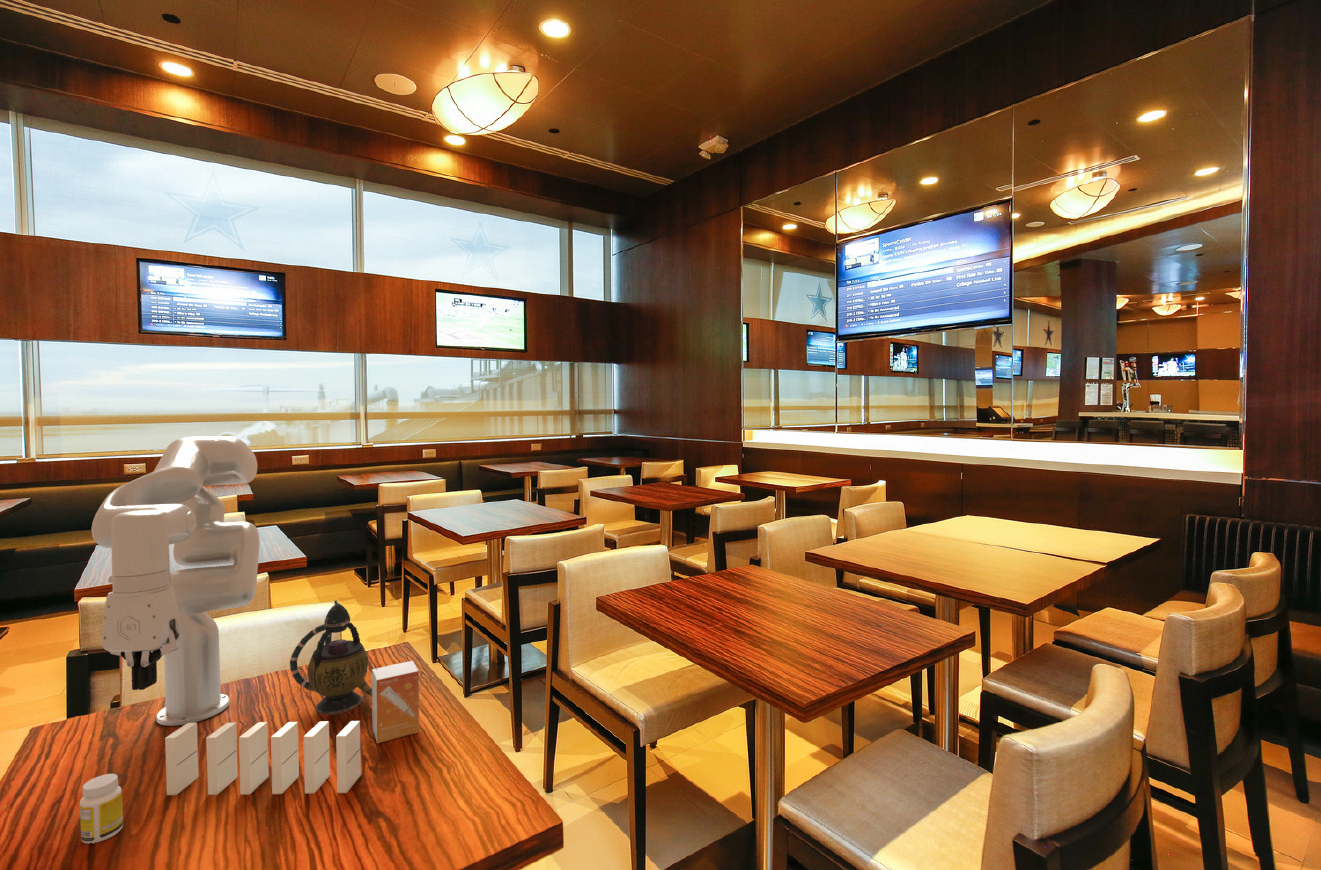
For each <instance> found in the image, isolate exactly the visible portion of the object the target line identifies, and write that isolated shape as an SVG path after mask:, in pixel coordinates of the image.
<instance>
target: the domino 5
mask: <svg viewBox="0 0 1321 870" xmlns="http://www.w3.org/2000/svg"><path fill="white" fill-rule="evenodd" d="M329 721H330V720H329ZM329 721H326V720H325V721H318V722H317V723H316V725H314V727H312V728H311V729H310V730H309V731H308V732H307V733H305V735H304V736H303V760H304V763H303V764H304V765H303V766H304V768H303V769H304V794H316V792H317V791H318V790H319V789H320V787H322V786H323V784H324V783H325V782H326V781H327V780H328V779H329V778H330V776H331V763H330V761H331V758H330V757H331V756H330V751H331V750H330V722H329ZM326 779H327V780H326Z"/></svg>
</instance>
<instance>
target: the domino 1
mask: <svg viewBox="0 0 1321 870" xmlns="http://www.w3.org/2000/svg"><path fill="white" fill-rule="evenodd" d="M164 741H165V743H164V744H165V745H164V746H165V749H164V750H165V773H166V775H165V776H166V777H165V778H166V780H165V781H166V782H165V783H166V796H177V795H179V793H181V792H182V791H183V790H184V789H186V788H187V787H188V786H189V785H191V784H192V783H193V782H194V781H196V780H197V779H198V778H199V749H198V746H199V745H198V744H199V743H198V723H197V722H194V723H187V724H185V725H181V727H179V728H178V729H177V730H175V731H173V732H171V734H168V736H166V737H165V738H164Z"/></svg>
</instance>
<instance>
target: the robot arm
mask: <svg viewBox="0 0 1321 870" xmlns="http://www.w3.org/2000/svg"><path fill="white" fill-rule="evenodd" d="M257 472H258V461H257V457H256V455H255V453H254V451H253V450H252V449H251V448H250V447H249V446H248V445H247V444H246V443H245V442H244V440H242V439H239V438H237V437H234V436H187V437H181V438H178V439H175V440H174V441H171V442H170V443H169V445H168V446H167V447H166V449H165V450H164V452H163V455H162V456H161V457H160V460H159V461H158V463H157V465H156V467H154V470H153V471H152V472H149V473H147V474H145V475H142V476H140V477H138V478H136V479H133V480H130V481H129V482H127V483H124V484H122V485H120V486H119V487H117V488H115V489H114V490H113V491H111V492H110V493H109V494H108V495H107V496H106V497H105V499H104V500H103V502H101V505H100V506H99V508H98V510H97V512H96V513H95V515H94V518H93V520H92V524H91V536H92V539H93V541H94V542H95V543H96V544H97V545H98V546H100V547H102V548H105V549H107V548H108V549H110V550H111V576H109V577H108V578H107V583H109V584H112V591H110V592H108V593H107V596H106V599H105V602H104V603H105V604H104V608H103V614H102V626H101V646H102V648H103V649H104V650H106V651H107V652H109V654H111V655H115V656H120V657H121V658H123V659H124V660H125V661H126V666H127V667H129V668H131V689H132V691H144V690H145V689H148V688H149V687H151V686H154V685H155V684H156V683H157V681H158V680H157V679H158V672H157V671H158V670H157V667H158V666H157V662H158V661H160V660H161V658H162V656H163V666H164V667H163V668H164V669H163V670H164V694H165V695H164V696H165V699H164V700H165V706H164V707H162V709H161V710H159V711H158V712H157V713H156V717H155V719H156V723H158V725H161V726H166V727H168V726H169V727H176V726H184V725H185V724H187V723H197V722H198V723H199V722H200V721H204V720H207V719H209V718H212V717H214V716H216V715H219V714H220V713H221V712H223V711H224V710H226V709H227V707H229V705H230V697H229V696H228V695H227V694H225V693H221V667H220V665H221V663H220V661H221V660H220V631H219V626H218V624H217V622H216V621H215V619H213V618H212V617H211V616H210V615H209V614H208V612H213V611H220V610H221V611H222V610H230V609H237V608H242V607H245V606H249V604H250V603H252V602H253V600H254V598H255V594H256V590H257V580H258V568H259V560H260V559H259V558H260V533H259V530H258V528H257V526H256V525H255V524H254V523H251V522H248V521H232V522H229V521H227V522H224V521H225V512H226V507H225V505H224V503H223V501H222V500H221V499H219V497H218V496H217V495H215V493H213V492H212V491H210V490H209V489H207V487H205V486H224V485H225V486H228V485H229V486H230V485H245V484H248V483H251V482H252V481H253V480H254V479H255V477H256V476H257ZM170 545H173V549H172V551H173V552H172V554H173V559H174V562H175V563H176V564H178V565H180V566H183V567H192V568H184V569H178V570H175V571H174V570H173V571H172V572H171V570H170V569H171V567H170V565H171V564H170V563H171V562H170ZM229 564H230V565H229ZM215 565H217V566H215ZM218 565H219V566H218ZM193 567H194V568H193Z"/></svg>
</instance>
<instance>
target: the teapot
mask: <svg viewBox="0 0 1321 870" xmlns="http://www.w3.org/2000/svg"><path fill="white" fill-rule="evenodd" d="M347 629H349V631H350V633H351V637H352V640H347V639H336V640H332V639H333V638H332V636H333V634H335V633H336V634H337V633H338V634H339V633H342V632H345V631H346V630H347ZM321 632H323V633H322V634H321V637H320V639H319V641H318V642H317V646H316V649H315V650H314V651H313V653H312V655H311V657H310V660H309V663H308V666H307V675H306V676H307V679H305V678H304V677H303V676H302V674H301V673H300V670H299V667H298V659H299V656H300V654H301V652H302V651H303V649H304V647H305V645H306V644H307V643H308V642H310V640H311V639H312V638H313V637H314V636H316V635H317V634H319V633H321ZM368 657H369V656H368V654H367V651H366V649H365V646H364V645H363V643H362V642H361V638H360V634H359V631H358V630H357V627H356V626H355V625H354V624H353V623H352V622H351V615H350V613H349V611H348V610H347V608H346V607H344V605H343V604H341V603H339V602H338V600H333V606H331V607H330V609H329V610H328V612H327V614H326V616H325V619H324V623H323V624H321V625H318V626H317V627H315V628H313V629H311V630H310V631H309V632H308V633H307V634H306V635H304V636H303V637H302V638H301V639H300V641H299V642H298V643H297V645H296V647H295V648H294V650H293V652H292V654H291V656H290V660H289V668H290V671H291V675H292V677H293V679H294V681H296V683H297V684H299V685H300V686H302V687H303V688H305V689H306V690H307V691H311V692H316V693H317V694H319V695H320V696H322V697H323V698H322V699H321V700H320V701H318V703H317V704H316V707H315V711H316V710H317V711H316V713H318V712H319V713H318V714H320V713H321V714H320V715H325V714H327V715H326V716H329V715H328V714H330V716H331V715H337V714H343V713H345V712H346V713H347V712H349V711H351V710H353V709H355V708H356V707H358V706H359V705H360V704H361V703H362V700H363V699H362V696H361V694H359V693H357V692H355V690H356V689H357V688H359V689H360V690H361V691H363V692H364V693H365V694H366V695H369V696H370V697H371V698H372V686H370V685H369V684H368V683H367V682H366V679H365V677H366V675H367V673H368V667H369V666H368V665H369V658H368Z"/></svg>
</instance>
